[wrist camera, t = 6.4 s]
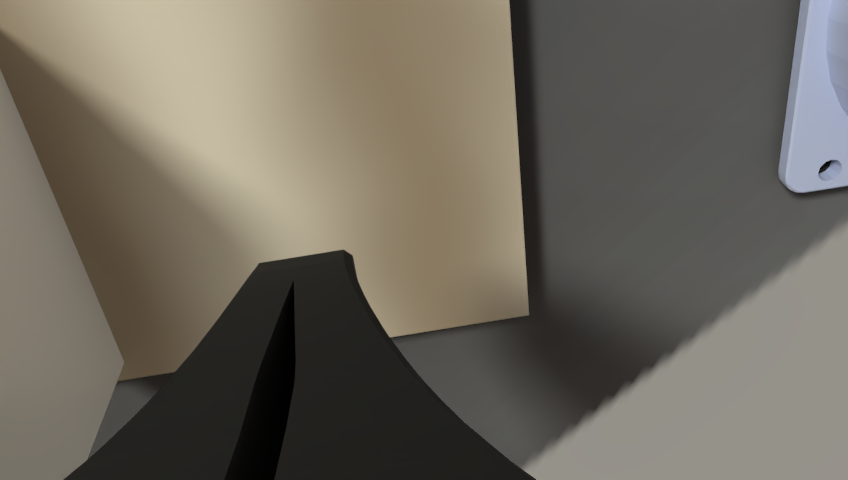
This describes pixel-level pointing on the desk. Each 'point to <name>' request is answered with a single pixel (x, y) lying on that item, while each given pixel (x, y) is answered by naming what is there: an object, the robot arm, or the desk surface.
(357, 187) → the board
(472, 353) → the desk surface
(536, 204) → the desk surface
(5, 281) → the tile
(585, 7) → the desk surface
